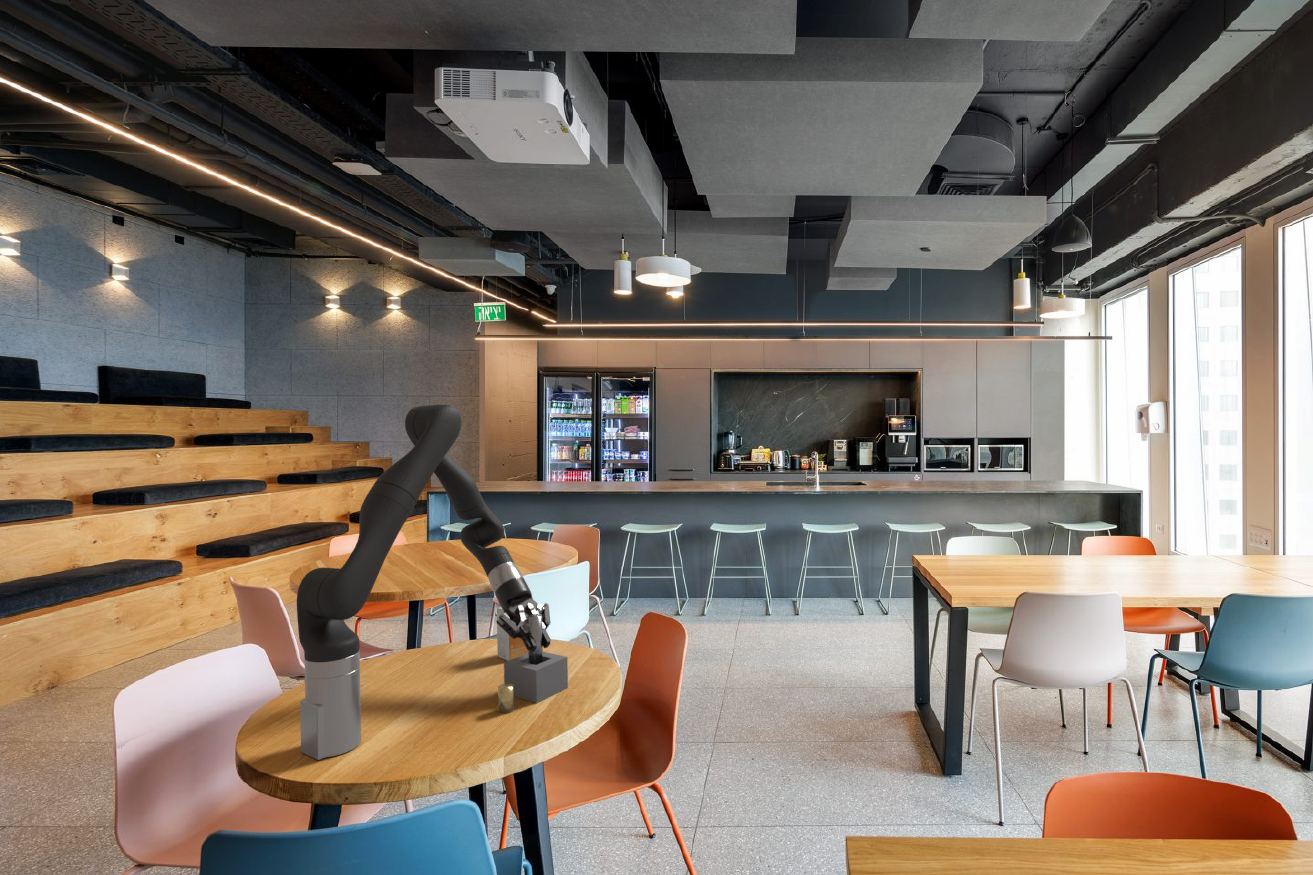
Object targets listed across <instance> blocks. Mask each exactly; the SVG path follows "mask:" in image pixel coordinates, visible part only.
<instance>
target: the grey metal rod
mask: <svg viewBox="0 0 1313 875" xmlns="http://www.w3.org/2000/svg"><path fill="white" fill-rule="evenodd" d="M528 631H529V632H528V633H530V634H531V636H532V638H533V640H534V642H535V644H536V646H537V648H536V649H535V651H534V652H530V651H528V663H530V664H534V665H537V664H540V663H542V662H543V652H544V650H543V648H544V647H543V645H542V615H541V614H539V613H538V614H531V615H528Z"/></svg>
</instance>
